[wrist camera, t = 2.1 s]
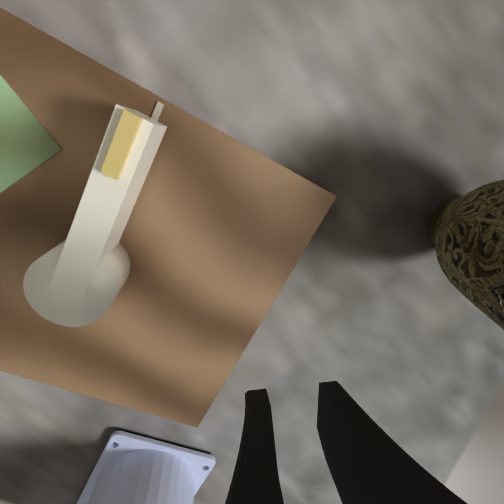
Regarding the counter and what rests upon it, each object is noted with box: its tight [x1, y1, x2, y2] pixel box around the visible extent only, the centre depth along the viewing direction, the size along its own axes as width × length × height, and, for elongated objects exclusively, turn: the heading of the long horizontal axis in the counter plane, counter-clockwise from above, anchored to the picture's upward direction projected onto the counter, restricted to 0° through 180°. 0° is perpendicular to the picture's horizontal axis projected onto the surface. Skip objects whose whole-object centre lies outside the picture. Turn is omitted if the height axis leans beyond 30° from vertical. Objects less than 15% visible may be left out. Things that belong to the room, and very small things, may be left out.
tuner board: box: [0, 8, 337, 427], centre depth 17 cm, size 18×20×1 cm
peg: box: [23, 104, 167, 327], centre depth 14 cm, size 10×4×4 cm, turn 152°
